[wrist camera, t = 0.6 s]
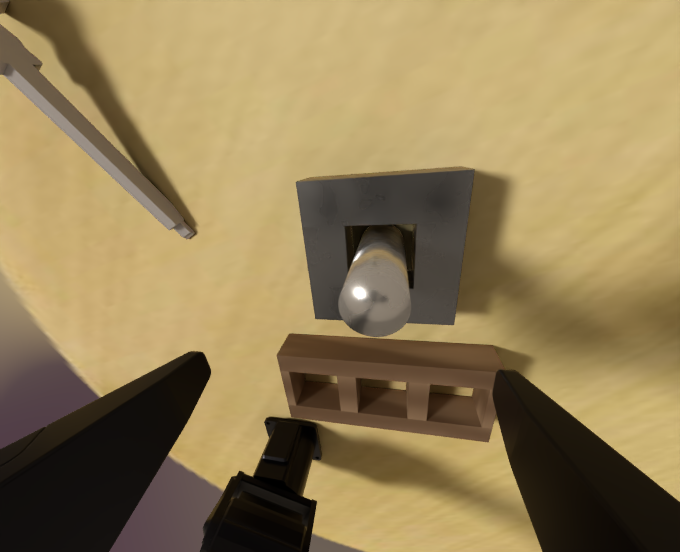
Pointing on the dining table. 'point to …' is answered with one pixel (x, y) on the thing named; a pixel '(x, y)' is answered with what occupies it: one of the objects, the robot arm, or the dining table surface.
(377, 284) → the metal peg
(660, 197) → the dining table surface
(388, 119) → the dining table surface
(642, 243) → the dining table surface
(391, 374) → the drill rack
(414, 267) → the socket block
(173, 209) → the caliper
